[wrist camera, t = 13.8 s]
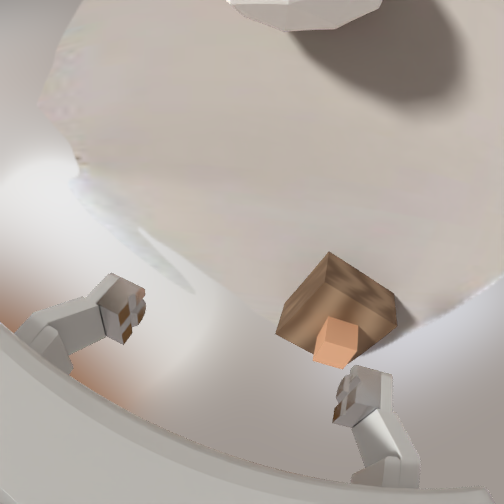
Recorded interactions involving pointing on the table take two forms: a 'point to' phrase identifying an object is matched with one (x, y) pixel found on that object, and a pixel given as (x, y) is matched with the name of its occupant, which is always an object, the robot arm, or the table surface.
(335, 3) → the polyhedron
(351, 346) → the cube
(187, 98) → the table surface
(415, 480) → the robot arm
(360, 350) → the walnut box
